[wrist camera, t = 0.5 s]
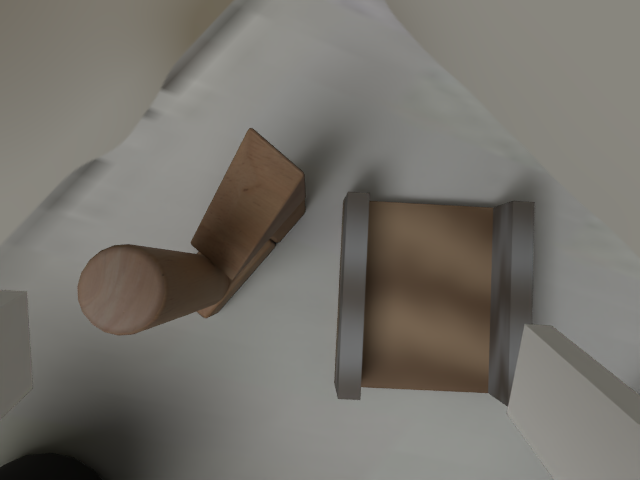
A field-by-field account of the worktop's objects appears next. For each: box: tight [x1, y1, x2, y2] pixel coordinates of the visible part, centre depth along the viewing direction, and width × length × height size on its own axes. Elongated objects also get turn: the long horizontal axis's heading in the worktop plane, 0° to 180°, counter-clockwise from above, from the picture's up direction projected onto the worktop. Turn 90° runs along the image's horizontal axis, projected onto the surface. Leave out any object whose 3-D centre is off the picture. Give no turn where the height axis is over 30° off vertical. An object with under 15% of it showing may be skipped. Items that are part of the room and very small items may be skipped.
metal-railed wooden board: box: [334, 192, 534, 406], centre depth 34 cm, size 14×13×4 cm
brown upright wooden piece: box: [78, 128, 306, 335], centre depth 27 cm, size 4×11×18 cm, turn 139°
